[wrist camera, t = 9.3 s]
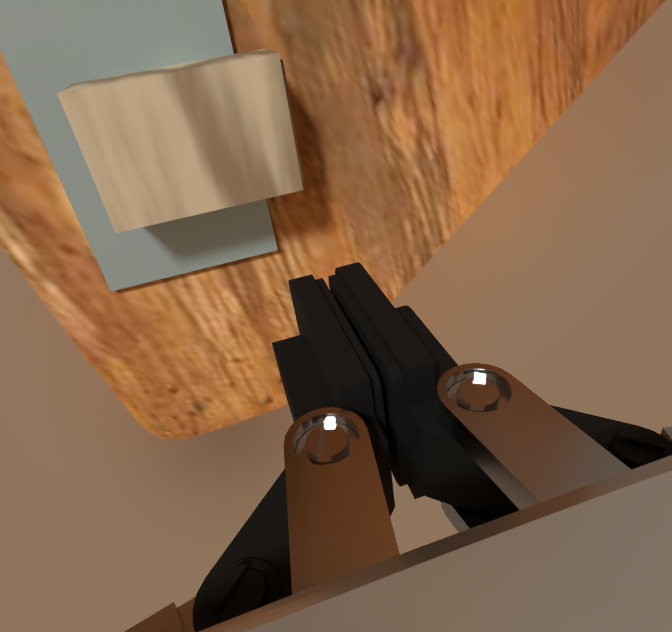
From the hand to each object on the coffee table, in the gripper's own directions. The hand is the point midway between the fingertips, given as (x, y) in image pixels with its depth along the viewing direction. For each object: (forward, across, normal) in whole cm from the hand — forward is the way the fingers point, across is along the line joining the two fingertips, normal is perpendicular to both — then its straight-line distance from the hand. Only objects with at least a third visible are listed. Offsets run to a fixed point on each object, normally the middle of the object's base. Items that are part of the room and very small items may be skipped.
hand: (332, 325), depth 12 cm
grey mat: (+27, +5, 0) cm, 28 cm away
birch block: (+24, -4, 0) cm, 24 cm away
